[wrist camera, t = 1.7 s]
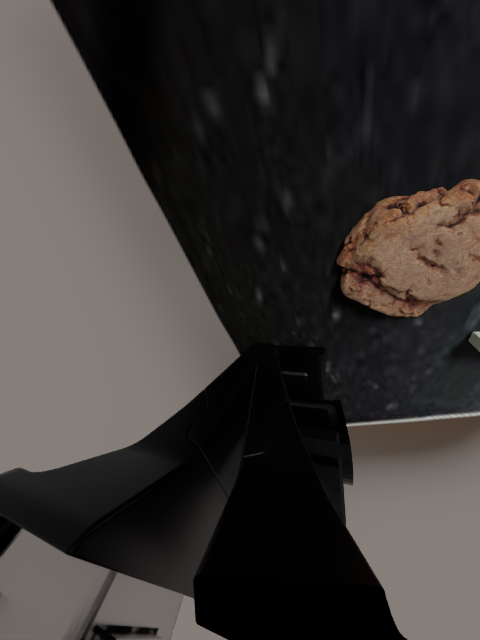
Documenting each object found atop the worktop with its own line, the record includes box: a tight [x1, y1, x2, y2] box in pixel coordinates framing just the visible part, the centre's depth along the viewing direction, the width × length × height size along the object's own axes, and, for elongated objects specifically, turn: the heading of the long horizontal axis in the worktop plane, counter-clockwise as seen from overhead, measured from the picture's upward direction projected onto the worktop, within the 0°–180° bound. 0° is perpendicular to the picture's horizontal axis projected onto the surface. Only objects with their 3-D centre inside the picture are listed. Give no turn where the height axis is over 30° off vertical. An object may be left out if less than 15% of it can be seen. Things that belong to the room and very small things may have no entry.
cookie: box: [337, 179, 480, 317], centre depth 14 cm, size 10×11×3 cm
